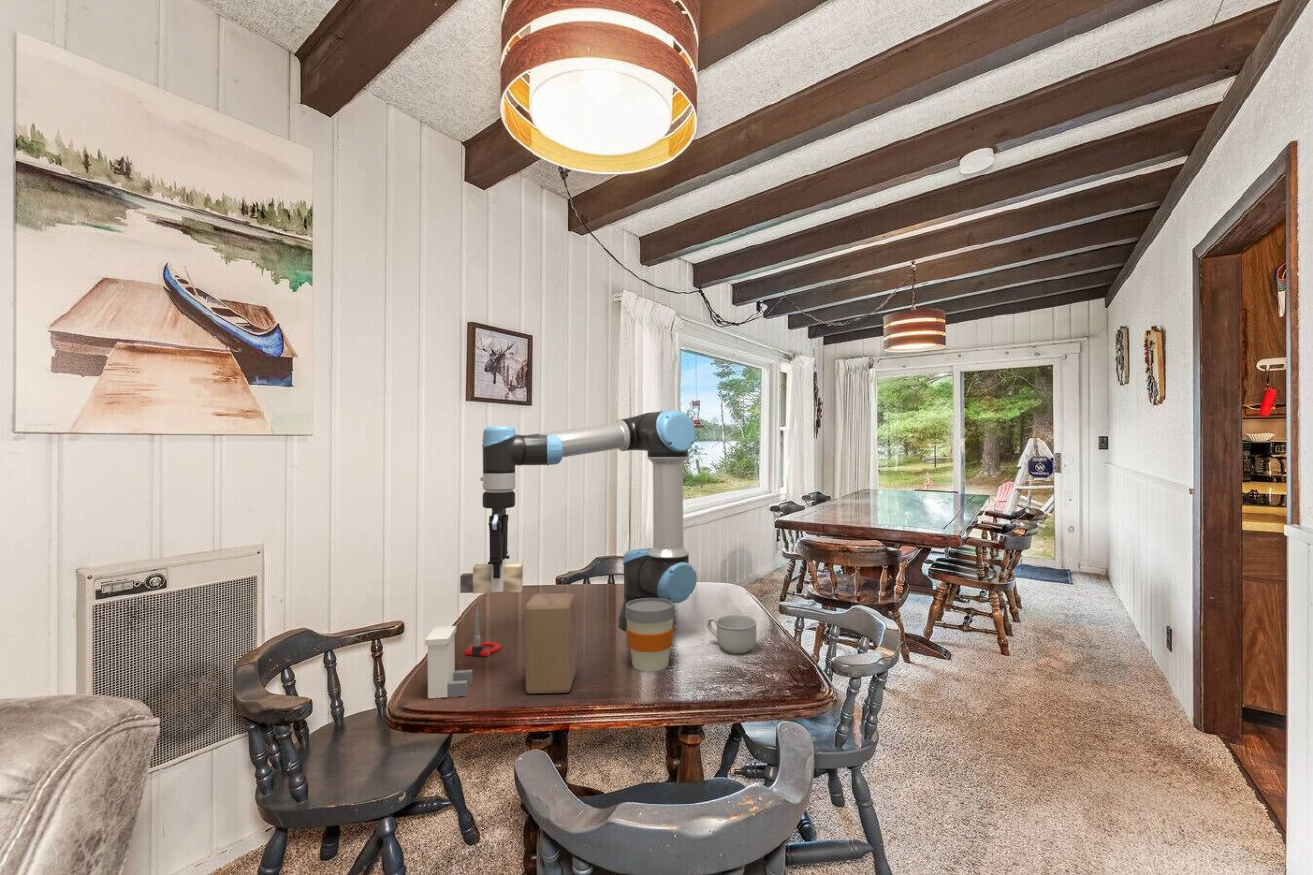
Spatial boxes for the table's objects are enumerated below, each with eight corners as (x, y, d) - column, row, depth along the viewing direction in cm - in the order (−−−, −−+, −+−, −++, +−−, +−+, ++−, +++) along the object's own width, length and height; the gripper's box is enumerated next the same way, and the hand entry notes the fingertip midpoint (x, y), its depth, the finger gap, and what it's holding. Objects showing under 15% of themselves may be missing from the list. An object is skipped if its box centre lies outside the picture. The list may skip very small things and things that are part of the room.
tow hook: (476, 645, 157) (460, 656, 148) (477, 598, 158) (461, 606, 148) (505, 646, 156) (490, 658, 146) (506, 599, 156) (491, 607, 147)
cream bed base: (472, 681, 132) (472, 624, 132) (465, 697, 123) (465, 637, 123) (435, 683, 131) (435, 626, 131) (425, 700, 122) (425, 639, 122)
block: (575, 675, 134) (574, 592, 134) (570, 694, 124) (569, 603, 124) (533, 676, 134) (533, 592, 134) (524, 695, 124) (524, 604, 124)
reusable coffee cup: (618, 659, 144) (617, 601, 144) (663, 652, 149) (662, 595, 149) (636, 678, 132) (635, 614, 132) (684, 669, 137) (683, 607, 137)
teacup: (764, 649, 150) (764, 619, 150) (741, 661, 142) (741, 629, 142) (722, 637, 159) (722, 609, 160) (698, 647, 151) (698, 618, 152)
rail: (522, 588, 136) (522, 563, 136) (520, 592, 132) (520, 566, 132) (462, 589, 134) (463, 564, 134) (459, 593, 131) (459, 567, 131)
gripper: (489, 488, 142) (489, 581, 141) (475, 493, 125) (475, 599, 125) (519, 488, 143) (519, 580, 142) (510, 493, 126) (510, 598, 126)
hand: (498, 589), depth 133 cm, fingers closed on rail, 4 cm apart
